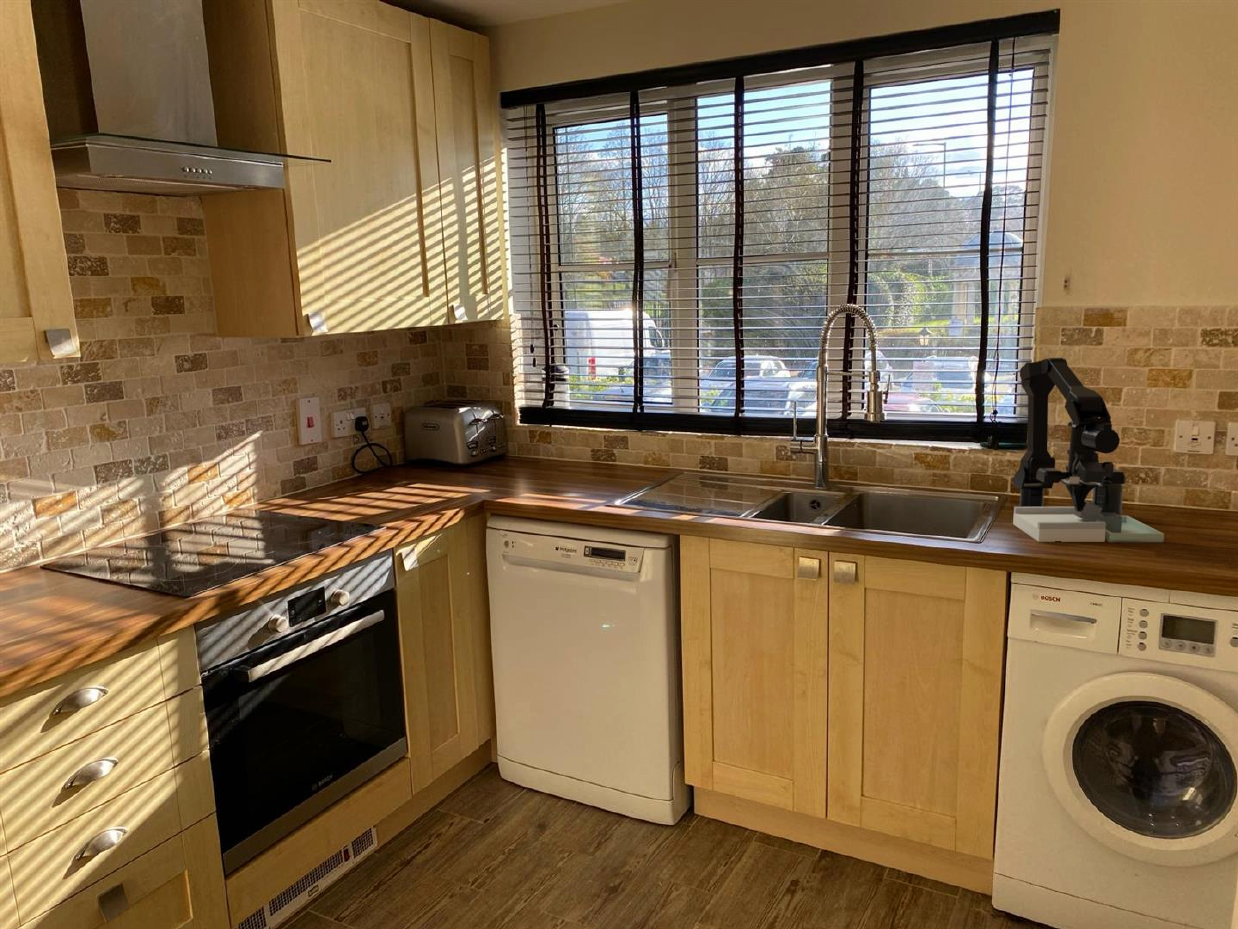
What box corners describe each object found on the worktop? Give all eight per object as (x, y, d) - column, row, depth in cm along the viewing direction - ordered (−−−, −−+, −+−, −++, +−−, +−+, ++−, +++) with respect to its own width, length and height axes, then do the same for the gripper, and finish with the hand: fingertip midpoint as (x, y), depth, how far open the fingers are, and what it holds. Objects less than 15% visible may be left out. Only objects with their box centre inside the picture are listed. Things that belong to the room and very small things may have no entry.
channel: (1013, 524, 231) (1014, 506, 231) (1074, 523, 230) (1075, 506, 229) (1038, 541, 215) (1039, 523, 214) (1104, 541, 214) (1106, 523, 213)
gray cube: (1097, 512, 223) (1114, 512, 222) (1096, 528, 223) (1113, 528, 223) (1105, 516, 219) (1122, 516, 219) (1103, 532, 219) (1121, 532, 219)
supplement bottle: (1104, 512, 241) (1108, 468, 239) (1127, 518, 235) (1130, 472, 233) (1085, 515, 239) (1088, 470, 237) (1107, 521, 232) (1110, 474, 230)
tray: (1077, 523, 231) (1078, 515, 230) (1126, 523, 230) (1127, 515, 229) (1110, 542, 213) (1110, 533, 213) (1163, 542, 212) (1164, 533, 212)
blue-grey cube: (1072, 513, 223) (1079, 498, 222) (1088, 519, 223) (1095, 504, 222) (1079, 517, 219) (1086, 502, 218) (1095, 523, 219) (1102, 508, 218)
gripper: (1055, 451, 211) (1050, 517, 214) (1139, 452, 210) (1133, 519, 212) (1037, 444, 222) (1033, 507, 225) (1117, 445, 221) (1111, 509, 223)
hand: (1077, 510), depth 221 cm, fingers closed
